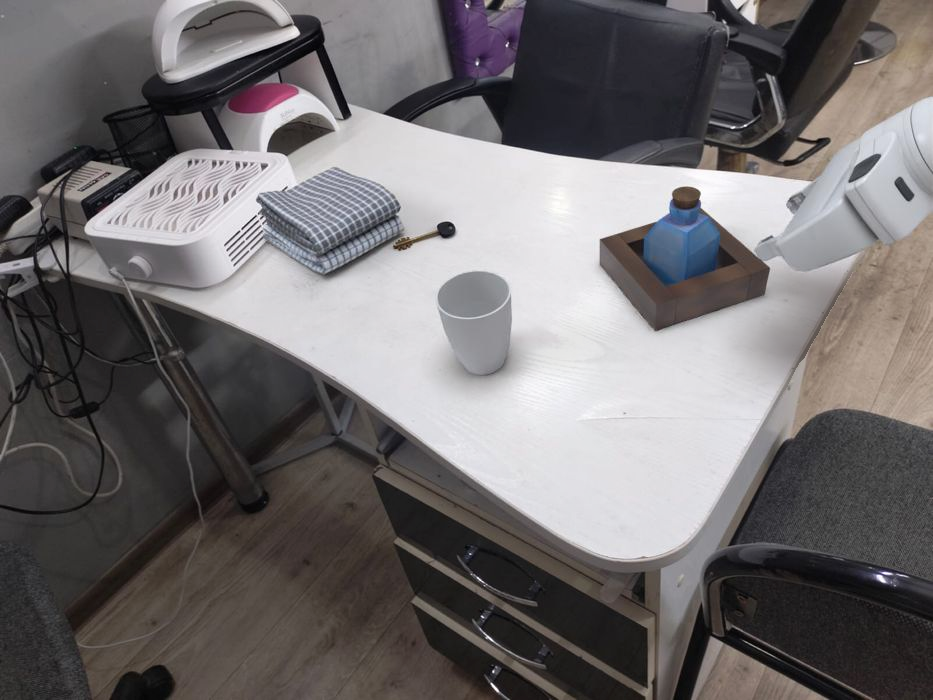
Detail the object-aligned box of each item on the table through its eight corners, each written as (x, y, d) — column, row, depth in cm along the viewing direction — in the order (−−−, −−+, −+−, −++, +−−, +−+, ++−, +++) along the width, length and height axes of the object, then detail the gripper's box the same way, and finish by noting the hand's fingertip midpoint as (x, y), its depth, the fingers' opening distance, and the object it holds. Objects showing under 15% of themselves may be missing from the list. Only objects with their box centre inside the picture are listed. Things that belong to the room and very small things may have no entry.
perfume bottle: (714, 275, 85) (726, 191, 77) (682, 299, 83) (691, 215, 74) (674, 256, 89) (681, 173, 80) (642, 278, 86) (646, 196, 78)
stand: (698, 233, 92) (701, 207, 89) (764, 294, 81) (770, 267, 78) (599, 264, 90) (599, 238, 87) (654, 331, 79) (656, 304, 77)
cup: (528, 343, 81) (521, 276, 74) (502, 391, 76) (493, 324, 69) (466, 330, 84) (454, 265, 77) (437, 376, 79) (422, 311, 72)
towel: (327, 284, 94) (311, 237, 89) (261, 239, 105) (243, 195, 100) (410, 233, 101) (400, 186, 96) (340, 195, 112) (327, 151, 106)
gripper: (915, 88, 66) (791, 160, 78) (854, 191, 55) (720, 256, 67) (952, 139, 67) (824, 203, 78) (899, 250, 56) (759, 305, 68)
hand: (776, 228), depth 73 cm, fingers open, 8 cm apart
